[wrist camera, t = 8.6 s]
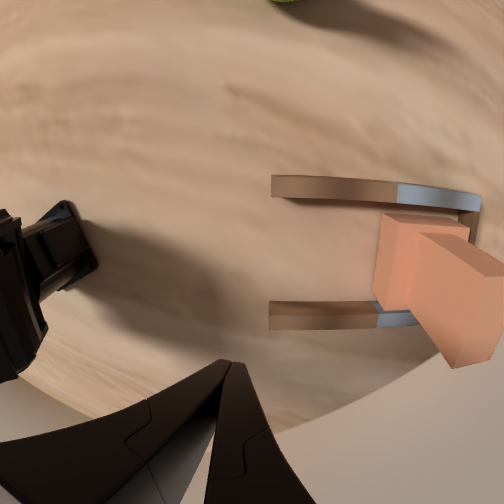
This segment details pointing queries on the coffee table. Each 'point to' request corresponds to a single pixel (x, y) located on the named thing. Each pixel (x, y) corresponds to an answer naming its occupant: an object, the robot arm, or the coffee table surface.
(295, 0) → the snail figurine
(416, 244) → the block
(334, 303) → the beam slot
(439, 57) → the coffee table surface
